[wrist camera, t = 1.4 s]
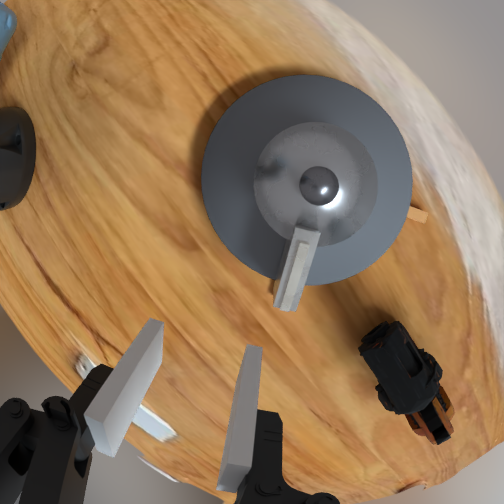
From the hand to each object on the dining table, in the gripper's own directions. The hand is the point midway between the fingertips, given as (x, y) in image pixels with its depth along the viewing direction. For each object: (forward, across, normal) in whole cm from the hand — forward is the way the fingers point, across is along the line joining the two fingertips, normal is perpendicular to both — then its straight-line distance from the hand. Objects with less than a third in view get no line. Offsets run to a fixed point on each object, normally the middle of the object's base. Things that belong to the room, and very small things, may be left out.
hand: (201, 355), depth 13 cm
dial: (+14, +5, +6) cm, 16 cm away
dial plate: (+17, +6, +7) cm, 19 cm away
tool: (+17, +25, -11) cm, 32 cm away
